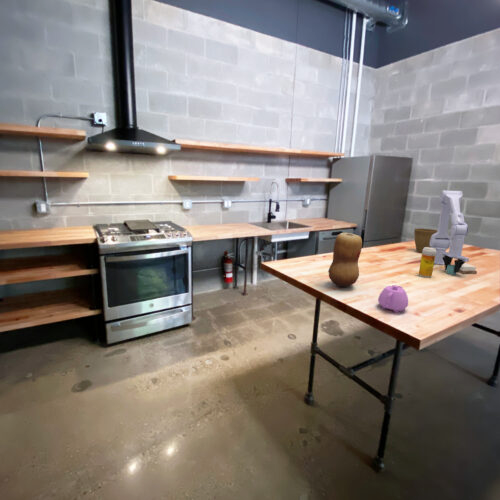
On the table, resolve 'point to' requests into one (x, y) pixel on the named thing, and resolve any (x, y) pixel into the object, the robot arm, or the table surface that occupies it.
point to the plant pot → (423, 238)
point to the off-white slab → (467, 267)
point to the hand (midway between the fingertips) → (451, 271)
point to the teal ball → (450, 269)
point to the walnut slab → (467, 272)
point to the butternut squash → (345, 259)
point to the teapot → (393, 298)
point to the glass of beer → (427, 262)
